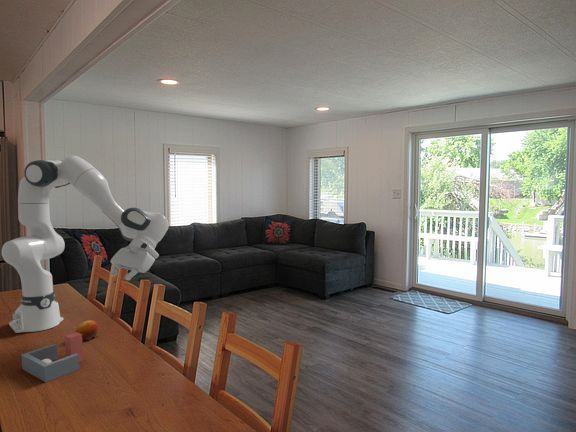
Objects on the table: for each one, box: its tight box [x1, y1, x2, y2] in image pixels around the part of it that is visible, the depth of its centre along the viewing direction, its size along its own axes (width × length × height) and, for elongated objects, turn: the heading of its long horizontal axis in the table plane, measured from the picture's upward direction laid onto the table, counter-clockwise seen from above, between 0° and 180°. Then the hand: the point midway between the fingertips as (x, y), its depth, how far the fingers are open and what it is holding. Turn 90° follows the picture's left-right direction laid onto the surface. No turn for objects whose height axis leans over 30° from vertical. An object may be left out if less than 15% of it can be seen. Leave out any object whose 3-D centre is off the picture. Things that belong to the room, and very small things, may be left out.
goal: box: [20, 343, 81, 383], centre depth 133 cm, size 16×10×5 cm, turn 55°
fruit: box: [75, 319, 99, 341], centre depth 159 cm, size 8×8×8 cm
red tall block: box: [63, 332, 85, 362], centre depth 139 cm, size 4×4×9 cm
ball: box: [42, 359, 53, 364], centre depth 132 cm, size 4×4×4 cm
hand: (119, 277), depth 154 cm, fingers open, 8 cm apart
